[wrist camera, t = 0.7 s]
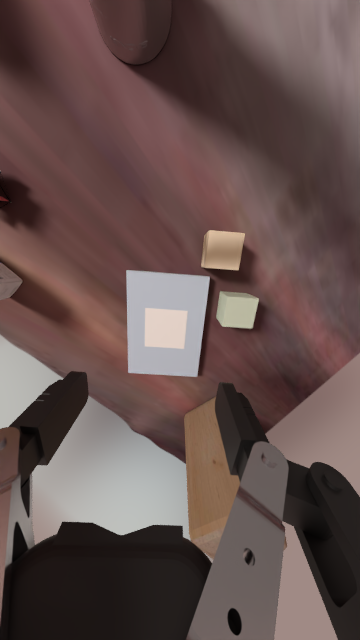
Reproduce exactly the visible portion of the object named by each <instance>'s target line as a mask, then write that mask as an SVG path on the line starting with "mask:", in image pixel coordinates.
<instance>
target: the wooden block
mask: <svg viewBox="0 0 360 640" xmlns="http://www.w3.org/2000/svg"><path fill="white" fill-rule="evenodd" d="M215 400H216V397H214V398H212V399H211V400H209V401H207V402H205V403H204V404H202V405H200V406H198V407H197V408H195V409H193V410H192V411H190V412H188V413H187V414H186V415H185V417H184V421H185V445H186V469H187V492H188V513H189V514H188V516H189V534H190V538H191V541H192V543H194V544H195V545H196V546H197V547H199V548H200V549H201V550H202V551H203V552H204V553H206V554H207V555H208V556H210V557H211V558H212V559H214V557H215V554H216V551H217V548H218V545H219V543H220V540H221V537H222V534H223V531H224V528H225V525H226V522H227V519H228V517H229V514H230V511H231V508H232V505H233V502H234V499H235V496H236V493H237V491H238V488H239V485H240V481H239V477H238V475H230V471H229V467H228V463H227V459H226V455H225V451H224V446H223V442H222V438H221V434H220V430H219V426H218V422H217V418H216V413H215ZM286 547H287V543H286V537H285V541H284V550H285V548H286ZM284 550H283V551H284Z"/></svg>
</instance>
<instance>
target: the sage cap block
mask: <svg viewBox="0 0 360 640" xmlns="http://www.w3.org/2000/svg"><path fill="white" fill-rule="evenodd" d="M258 301H259V299H258V298H256V297H254V296H252V295H250V294H247V293H235V292H222V291H220V296H219V303H218V310H217V316H216V318H217V319H218V321H219V322H220V323H221V325H222V326H223V327H238V328H253V324H254V319H255V315H256V310H257V306H258Z"/></svg>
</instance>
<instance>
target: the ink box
mask: <svg viewBox="0 0 360 640" xmlns="http://www.w3.org/2000/svg"><path fill="white" fill-rule="evenodd" d="M22 282H23V281H22V279H21V278H20V277H18V276H17V275H16V274H15V273H13V272H12V271H11V270H10V269H8V268H7V267H6V266H5V265H4V264H2V263H1V262H0V300H2V299H7V298H10V297H11V296H12V295H13V294H14V293H15V291H16V290H17V289H18V288H19V286H20V285H21V284H22Z"/></svg>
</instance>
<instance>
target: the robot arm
mask: <svg viewBox="0 0 360 640" xmlns="http://www.w3.org/2000/svg"><path fill="white" fill-rule="evenodd" d="M89 2H90V5H91V8H92V11H93V14H94V17H95V20H96V22H97V25H98V28H99V31H100V34H101V36H102V38H103V40H104V42H105V44H106V45H107V46H108V48H109V49H110V51H111V52H112V53H113V54H114V55H115V56H117V57H118V58H119V59H121V60H122V61H124V62H126V63H130V64H143V63H146V62H149V61H150V60H152V59H153V58H155V57H156V55H157V54H158V53H159V52H160V51H161V49H162V48H163V46H164V44H165V42H166V40H167V37H168V34H169V30H170V25H171V12H172V3H171V0H89ZM87 399H88V383H87V374H86V373H85V372H75V371H71V372H70V373H69V374H68V375H67V376H66V377H65V378H64V379H63V380H58V381H57V382H55V383H53V384H52V385H50V386H49V387H48V388H47V389H46V390H45V391H44V392H43V393H42V395H40V396H39V397H38V398H37V399H36V401H34V402H33V403H32V404H31V405H30V406H29V407H28V408H27V409H26V410H25V411H24V412H23V413H22V414H21V415H20V416H19V417H18V418H17V419H16V420H15V421H14V422H13V423H12V424H11V425H10V426H9V427H6V428H2V429H0V640H274V634H275V624H276V615H277V606H278V596H279V586H280V578H281V569H282V559H283V550H284V541H285V527H284V526H283V525H282V521H284V522H286V523H288V524H290V525H292V526H294V528H295V530H296V533H297V536H298V538H299V540H300V543H301V546H302V549H303V551H304V553H305V556H306V559H307V561H308V564H309V566H310V569H311V571H312V574H313V576H314V579H315V582H316V584H317V587H318V589H319V592H320V594H321V597H322V600H323V602H324V604H325V607H326V610H327V612H328V615H329V617H330V620H331V622H332V625H333V628H334V630H335V633H336V635H337V638H338V640H360V497H359V495H358V494H357V493H356V491H355V490H354V489H353V487H352V486H351V484H350V483H349V482H348V481H347V479H346V478H345V477H344V476H343V475H342V474H341V473H340V472H338V471H337V470H336V469H334V468H333V467H331V466H329V465H327V464H324V463H321V462H315V463H313V464H312V465H311V467H310V469H309V468H306V467H304V466H301V465H299V464H296V463H293V462H291V461H289V460H287V459H286V458H285V457H284V455H283V454H282V453H281V452H280V451H279V450H278V449H277V448H276V447H275V446H273V445H272V444H270V443H269V441H268V439H267V437H266V435H265V433H264V431H263V429H262V427H261V425H260V423H259V421H258V419H257V417H256V416H255V413H254V411H253V409H252V407H251V405H250V403H249V401H248V399H247V398H246V397H245V396H244V395H243V394H242V393H237V392H236V390H235V387H234V385H233V384H232V383H221V382H220V383H219V386H218V391H217V395H216V400H215V413H216V418H217V422H218V426H219V430H220V434H221V438H222V442H223V446H224V451H225V455H226V459H227V463H228V467H229V471H230V475H238V477H239V481H240V485H239V488H238V491H237V493H236V496H235V499H234V502H233V505H232V508H231V511H230V514H229V517H228V519H227V522H226V525H225V528H224V531H223V534H222V537H221V540H220V543H219V545H218V548H217V551H216V554H215V557H214V560H213V563H211V561H210V560H209V558H208V557H207V556H206V555H205V554H204V553H203V551H202V550H201V549H200V548H199V547H197V546H196V545H195V544H194V543H192V542H191V541H189V540H188V539H186V538H184V537H183V528H182V526H170V525H152V526H149V527H146V528H143V529H140V530H137V531H135V532H131V533H128V534H125V535H117V534H115V533H113V532H111V531H109V530H107V529H105V528H103V527H100V526H98V525H96V524H94V523H81V522H62V524H61V526H60V528H59V531H58V533H57V534H56V535H53V536H51V537H49V538H47V539H45V540H43V541H41V542H40V543H38V544H36V545H35V541H34V533H33V525H32V471H33V470H34V468H35V467H36V466H37V465H48V463H49V462H50V460H51V459H52V457H53V455H54V454H55V452H56V451H57V449H58V447H59V446H60V444H61V443H62V441H63V439H64V438H65V436H66V434H67V433H68V431H69V430H70V428H71V427H72V425H73V423H74V422H75V420H76V419H77V417H78V415H79V414H80V412H81V411H82V409H83V407H84V406H85V404H86V402H87Z"/></svg>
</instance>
